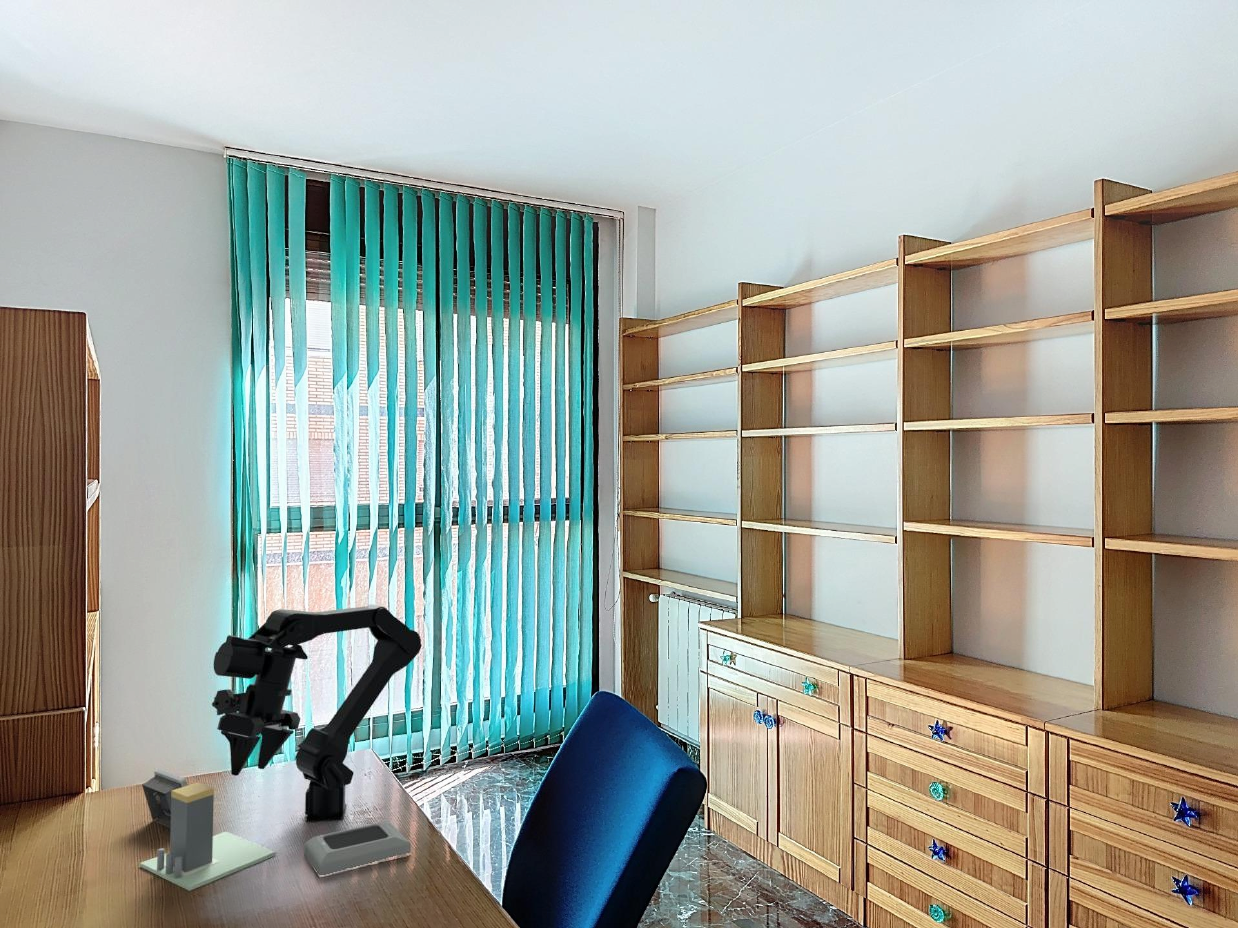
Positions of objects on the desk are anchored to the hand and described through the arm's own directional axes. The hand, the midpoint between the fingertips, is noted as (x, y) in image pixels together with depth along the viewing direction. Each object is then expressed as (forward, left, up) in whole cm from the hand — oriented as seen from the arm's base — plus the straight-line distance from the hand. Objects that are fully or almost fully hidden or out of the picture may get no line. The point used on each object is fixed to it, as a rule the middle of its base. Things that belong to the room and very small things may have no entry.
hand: (248, 771), depth 152 cm
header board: (+4, +7, -12) cm, 15 cm away
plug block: (+7, +9, -11) cm, 16 cm away
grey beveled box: (-19, +9, -13) cm, 25 cm away
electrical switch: (+15, -9, -12) cm, 21 cm away
